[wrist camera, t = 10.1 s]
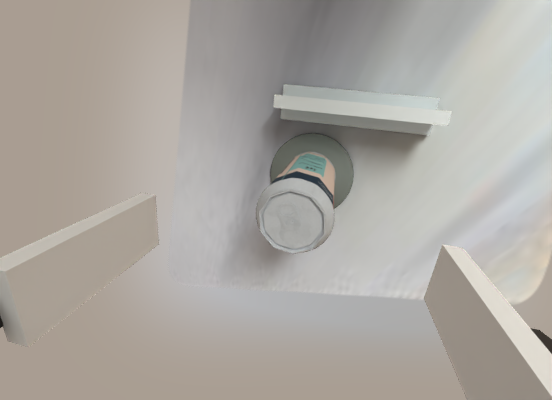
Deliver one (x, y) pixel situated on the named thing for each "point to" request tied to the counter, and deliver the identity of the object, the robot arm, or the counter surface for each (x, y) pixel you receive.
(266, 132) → the counter surface
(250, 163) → the counter surface
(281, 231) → the beer can
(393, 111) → the divider
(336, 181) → the coaster
